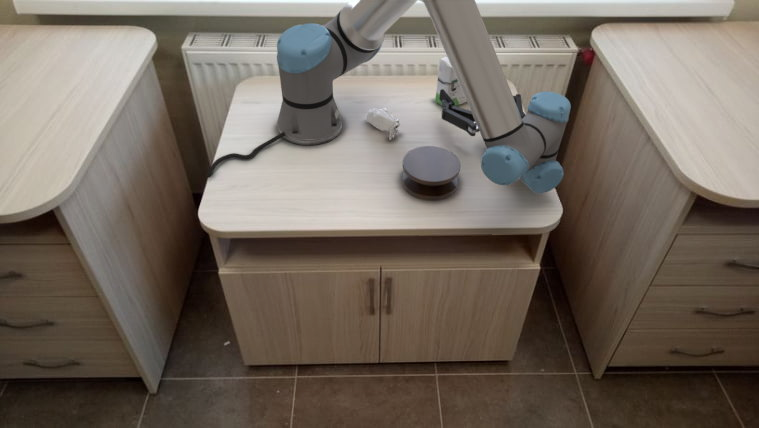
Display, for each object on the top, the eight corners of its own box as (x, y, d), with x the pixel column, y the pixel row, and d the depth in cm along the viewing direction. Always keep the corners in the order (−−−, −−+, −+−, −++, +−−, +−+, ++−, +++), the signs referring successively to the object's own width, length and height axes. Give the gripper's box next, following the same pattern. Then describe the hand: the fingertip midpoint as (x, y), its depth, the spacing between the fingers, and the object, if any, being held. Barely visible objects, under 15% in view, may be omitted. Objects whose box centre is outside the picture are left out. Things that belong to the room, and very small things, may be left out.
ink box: (446, 109, 137) (451, 67, 129) (434, 100, 140) (438, 58, 132) (472, 100, 140) (478, 58, 132) (460, 91, 143) (465, 50, 135)
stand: (414, 206, 111) (416, 186, 107) (393, 171, 119) (394, 152, 115) (467, 193, 114) (470, 174, 110) (443, 160, 122) (445, 141, 118)
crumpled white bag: (404, 135, 131) (376, 110, 134) (407, 117, 125) (377, 91, 128) (389, 146, 129) (361, 120, 132) (391, 128, 123) (362, 102, 126)
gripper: (456, 163, 117) (418, 111, 131) (555, 142, 123) (508, 94, 138) (460, 134, 112) (420, 84, 126) (563, 114, 118) (514, 68, 132)
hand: (466, 89), depth 132 cm, fingers open, 13 cm apart
